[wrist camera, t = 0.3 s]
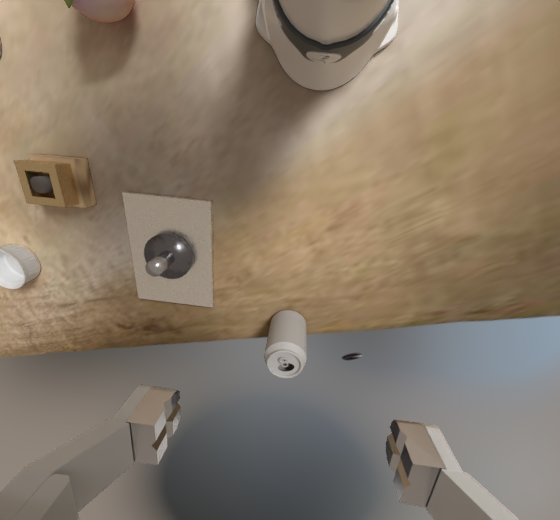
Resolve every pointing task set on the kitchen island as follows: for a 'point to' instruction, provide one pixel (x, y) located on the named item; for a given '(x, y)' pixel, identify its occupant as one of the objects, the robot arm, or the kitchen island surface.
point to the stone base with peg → (171, 247)
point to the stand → (79, 173)
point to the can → (286, 344)
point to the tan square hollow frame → (59, 178)
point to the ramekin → (17, 266)
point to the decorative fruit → (102, 9)
